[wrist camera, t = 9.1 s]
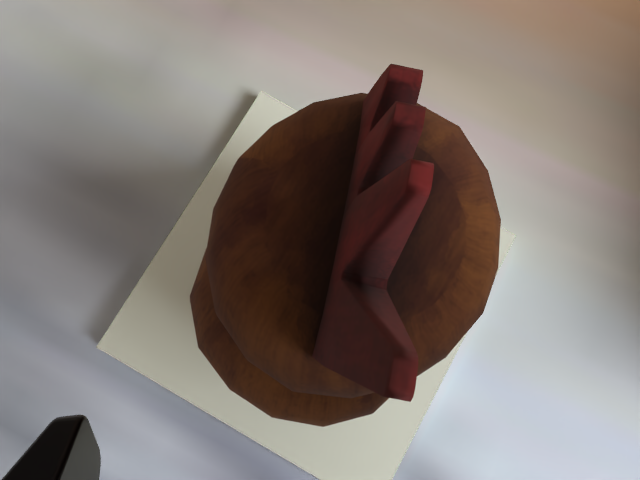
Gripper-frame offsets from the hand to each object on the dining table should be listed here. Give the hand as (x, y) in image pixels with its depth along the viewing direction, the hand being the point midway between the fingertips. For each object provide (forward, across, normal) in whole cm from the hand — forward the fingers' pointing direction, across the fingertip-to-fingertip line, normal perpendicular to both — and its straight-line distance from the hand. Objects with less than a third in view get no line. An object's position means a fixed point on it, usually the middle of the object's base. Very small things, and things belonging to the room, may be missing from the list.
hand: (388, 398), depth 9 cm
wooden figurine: (+9, 0, +5) cm, 10 cm away
